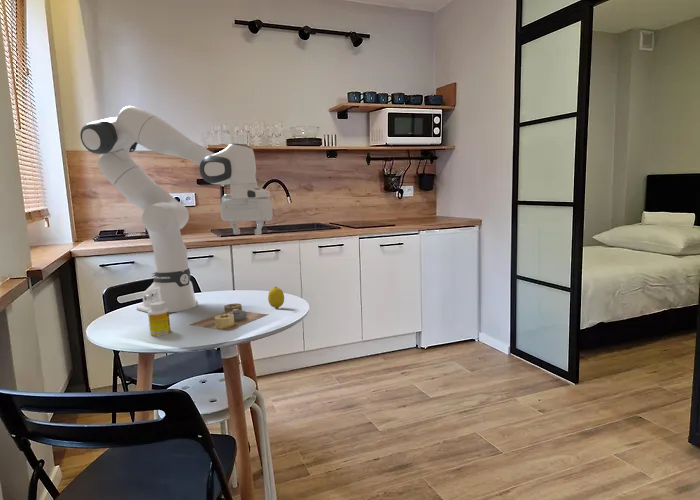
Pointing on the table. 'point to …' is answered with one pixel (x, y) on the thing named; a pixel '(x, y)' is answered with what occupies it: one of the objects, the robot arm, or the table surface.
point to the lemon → (276, 297)
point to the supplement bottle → (159, 319)
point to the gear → (224, 321)
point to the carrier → (239, 317)
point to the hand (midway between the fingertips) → (247, 234)
